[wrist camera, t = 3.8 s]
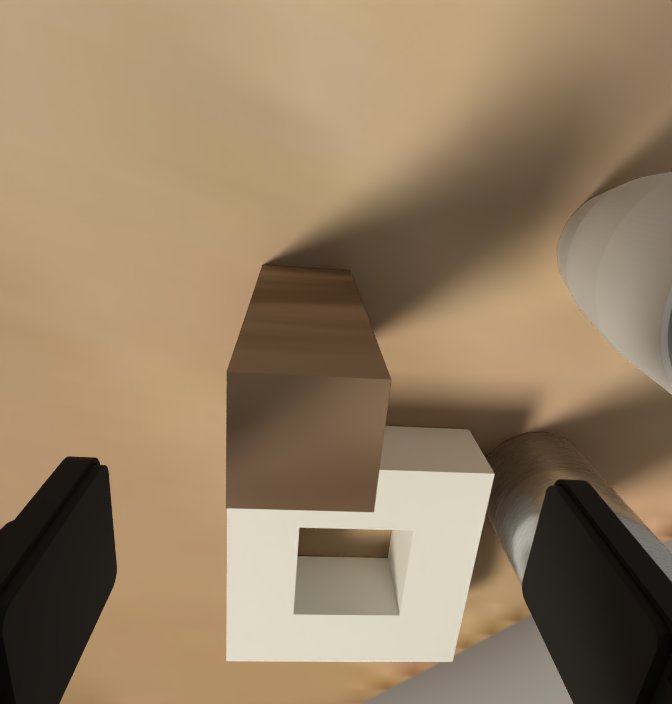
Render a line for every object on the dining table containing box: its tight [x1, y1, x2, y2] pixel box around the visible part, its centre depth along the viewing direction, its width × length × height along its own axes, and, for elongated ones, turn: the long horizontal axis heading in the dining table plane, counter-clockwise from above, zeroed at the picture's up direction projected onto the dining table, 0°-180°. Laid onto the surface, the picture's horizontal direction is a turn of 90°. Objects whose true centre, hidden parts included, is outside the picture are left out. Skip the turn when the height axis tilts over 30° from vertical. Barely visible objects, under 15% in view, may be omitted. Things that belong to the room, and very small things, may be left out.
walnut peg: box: [226, 265, 391, 512], centre depth 19 cm, size 4×4×12 cm
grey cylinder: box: [486, 432, 672, 585], centre depth 24 cm, size 6×6×10 cm
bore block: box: [227, 426, 495, 662], centre depth 27 cm, size 12×12×4 cm
